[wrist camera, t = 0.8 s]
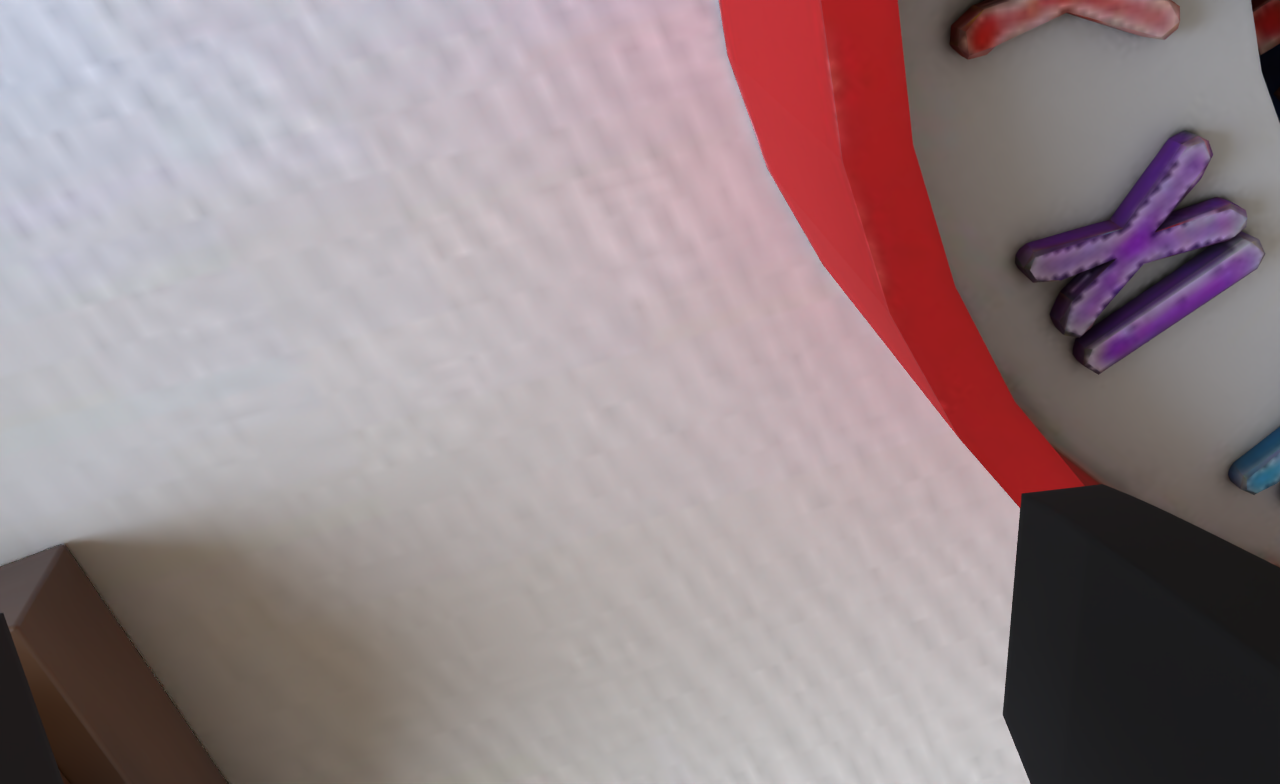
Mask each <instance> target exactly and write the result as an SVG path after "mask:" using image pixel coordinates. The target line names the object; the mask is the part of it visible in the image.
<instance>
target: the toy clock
mask: <svg viewBox="0 0 1280 784" xmlns="http://www.w3.org/2000/svg"><path fill="white" fill-rule="evenodd" d="M719 6H720V12H721V18H722V24H723V30H724V36H725V43H726V49H727V55H728V58H729V61H730V64H731V66H732V69H733V72H734V75H735V78H736V81H737V83H738V86H739V89H740V92H741V95H742V98H743V100H744V103H745V106H746V109H747V112H748V115H749V118H750V120H751V123H752V126H753V129H754V132H755V135H756V137H757V140H758V143H759V146H760V149H761V152H762V154H763V157H764V160H765V163H766V166H767V169H768V171H769V172H770V174H771V176H772V177H773V179H774V181H775V183H776V184H777V186H778V188H779V190H780V191H781V193H782V195H783V197H784V198H785V200H786V202H787V203H788V205H789V207H790V209H791V210H792V212H793V214H794V216H795V217H796V219H797V221H798V222H799V224H800V226H801V228H802V229H803V231H804V233H805V235H806V236H807V238H808V240H809V242H810V243H811V245H812V247H813V248H814V250H815V252H816V254H817V255H818V257H819V259H820V261H821V262H822V264H823V265H824V267H825V268H826V269H827V270H828V272H829V273H830V274H831V275H832V277H833V278H834V279H835V281H836V282H837V283H838V284H839V286H840V287H841V288H842V289H843V291H844V292H845V293H846V295H847V296H848V297H849V298H850V300H851V301H852V302H853V304H854V305H855V306H856V307H857V309H858V310H859V311H860V312H861V314H862V315H863V316H864V318H865V319H866V320H867V321H868V323H869V324H870V325H871V326H872V328H873V329H874V330H875V332H876V333H877V334H878V335H879V337H880V338H881V339H882V340H883V342H884V343H885V344H886V346H887V347H888V348H889V349H890V351H891V352H892V353H893V354H894V356H895V357H896V358H897V360H898V361H899V362H900V363H901V365H902V366H903V367H904V369H905V370H906V371H907V372H908V374H909V375H910V376H911V377H912V379H913V380H914V381H915V383H916V384H917V385H918V386H919V388H920V389H921V390H922V391H923V393H924V394H925V395H926V397H927V398H928V399H929V400H930V402H931V403H932V404H933V405H934V407H935V408H936V409H937V411H938V412H939V413H940V414H941V416H942V417H943V418H944V419H945V421H946V422H947V423H948V425H949V426H950V427H951V428H952V430H953V431H954V432H955V434H956V435H957V436H958V437H959V439H960V440H961V441H962V442H963V443H964V444H965V445H966V447H967V448H968V449H969V450H970V451H971V452H972V454H973V455H974V456H975V457H976V458H977V459H978V460H979V462H980V463H981V464H982V465H983V466H984V467H985V468H986V470H987V471H988V472H989V473H990V474H991V475H992V476H993V478H994V479H995V480H996V481H997V482H998V483H999V484H1000V486H1001V487H1002V488H1003V489H1004V490H1005V491H1006V493H1007V494H1008V495H1009V496H1010V497H1011V498H1012V499H1013V501H1014V502H1015V503H1016V504H1017V505H1018V506H1019V507H1021V495H1022V493H1030V492H1039V491H1047V490H1056V489H1064V488H1073V487H1081V486H1090V485H1098V484H1103V485H1106V486H1109V487H1111V488H1114V489H1116V490H1119V491H1121V492H1124V493H1126V494H1129V495H1131V496H1133V497H1136V498H1138V499H1140V500H1143V501H1145V502H1147V503H1149V504H1151V505H1154V506H1156V507H1158V508H1160V509H1162V510H1164V511H1166V512H1169V513H1171V514H1173V515H1175V516H1177V517H1179V518H1181V519H1183V520H1185V521H1187V522H1189V523H1191V524H1193V525H1195V526H1197V527H1200V528H1202V529H1204V530H1206V531H1208V532H1210V533H1212V534H1214V535H1216V536H1218V537H1220V538H1222V539H1224V540H1226V541H1228V542H1230V543H1232V544H1234V545H1236V546H1238V547H1240V548H1242V549H1244V550H1246V551H1248V552H1250V553H1252V554H1254V555H1256V556H1258V557H1260V558H1262V559H1264V560H1266V561H1268V562H1270V563H1272V564H1274V565H1276V566H1278V567H1280V0H719Z"/></svg>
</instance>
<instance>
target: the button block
mask: <svg viewBox="0 0 1280 784" xmlns="http://www.w3.org/2000/svg"><path fill="white" fill-rule="evenodd" d="M0 613H4V616H5V619H6V622H7V625H8V628H9V630H10V633H11V636H12V639H13V642H14V644H15V647H16V650H17V653H18V656H19V659H20V661H21V664H22V667H23V670H24V673H25V676H26V678H27V681H28V684H29V687H30V690H31V693H32V695H33V698H34V701H35V704H36V707H37V709H38V712H39V715H40V718H41V721H42V724H43V726H44V729H45V732H46V735H47V738H48V741H49V743H50V746H51V749H52V752H53V755H54V758H55V760H56V763H57V766H58V769H59V772H60V775H61V777H62V780H63V783H64V784H228V783H227V782H226V781H225V779H224V778H223V776H222V775H221V773H220V772H219V770H218V769H217V767H216V766H215V764H214V763H213V761H212V760H211V759H210V757H209V756H208V754H207V753H206V751H205V750H204V748H203V747H202V745H201V744H200V742H199V741H198V739H197V738H196V736H195V735H194V734H193V732H192V731H191V729H190V728H189V726H188V725H187V723H186V722H185V720H184V719H183V717H182V716H181V714H180V713H179V712H178V710H177V709H176V707H175V706H174V704H173V703H172V701H171V700H170V698H169V697H168V695H167V694H166V692H165V691H164V690H163V688H162V687H161V685H160V684H159V682H158V681H157V679H156V678H155V676H154V675H153V673H152V672H151V670H150V669H149V668H148V666H147V665H146V663H145V662H144V660H143V659H142V657H141V656H140V654H139V653H138V651H137V650H136V648H135V647H134V646H133V644H132V643H131V641H130V640H129V638H128V637H127V635H126V634H125V632H124V631H123V629H122V628H121V626H120V625H119V624H118V622H117V621H116V619H115V618H114V616H113V615H112V613H111V612H110V610H109V609H108V607H107V606H106V604H105V603H104V602H103V600H102V599H101V597H100V596H99V594H98V593H97V591H96V590H95V588H94V587H93V585H92V584H91V582H90V581H89V580H88V578H87V577H86V575H85V574H84V572H83V571H82V569H81V568H80V566H79V565H78V563H77V562H76V560H75V559H74V558H73V556H72V555H71V553H70V552H69V550H68V549H67V547H66V546H65V545H58V546H56V547H53V548H50V549H48V550H45V551H42V552H39V553H37V554H34V555H31V556H28V557H26V558H23V559H20V560H18V561H15V562H12V563H9V564H7V565H4V566H1V567H0Z"/></svg>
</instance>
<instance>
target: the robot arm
mask: <svg viewBox="0 0 1280 784" xmlns="http://www.w3.org/2000/svg"><path fill="white" fill-rule="evenodd" d="M1003 716H1004V719H1005V721H1006V724H1007V726H1008V729H1009V731H1010V734H1011V736H1012V739H1013V741H1014V743H1015V746H1016V748H1017V751H1018V753H1019V756H1020V758H1021V761H1022V763H1023V766H1024V768H1025V771H1026V773H1027V776H1028V778H1029V781H1030V783H1031V784H1280V567H1278V566H1276V565H1274V564H1272V563H1270V562H1268V561H1266V560H1264V559H1262V558H1260V557H1258V556H1256V555H1254V554H1252V553H1250V552H1248V551H1246V550H1244V549H1242V548H1240V547H1238V546H1236V545H1234V544H1232V543H1230V542H1228V541H1226V540H1224V539H1222V538H1220V537H1218V536H1216V535H1214V534H1212V533H1210V532H1208V531H1206V530H1204V529H1202V528H1200V527H1197V526H1195V525H1193V524H1191V523H1189V522H1187V521H1185V520H1183V519H1181V518H1179V517H1177V516H1175V515H1173V514H1171V513H1169V512H1166V511H1164V510H1162V509H1160V508H1158V507H1156V506H1154V505H1151V504H1149V503H1147V502H1145V501H1143V500H1140V499H1138V498H1136V497H1133V496H1131V495H1129V494H1126V493H1124V492H1121V491H1119V490H1116V489H1114V488H1111V487H1109V486H1106V485H1103V484H1098V485H1090V486H1081V487H1073V488H1064V489H1056V490H1047V491H1039V492H1030V493H1022V495H1021V507H1020V519H1019V530H1018V542H1017V554H1016V566H1015V578H1014V589H1013V601H1012V613H1011V625H1010V637H1009V648H1008V660H1007V672H1006V684H1005V696H1004V707H1003ZM0 784H64V783H63V780H62V777H61V775H60V772H59V769H58V766H57V763H56V760H55V758H54V755H53V752H52V749H51V746H50V743H49V741H48V738H47V735H46V732H45V729H44V726H43V724H42V721H41V718H40V715H39V712H38V709H37V707H36V704H35V701H34V698H33V695H32V693H31V690H30V687H29V684H28V681H27V678H26V676H25V673H24V670H23V667H22V664H21V661H20V659H19V656H18V653H17V650H16V647H15V644H14V642H13V639H12V636H11V633H10V630H9V628H8V625H7V622H6V619H5V616H4V613H0Z"/></svg>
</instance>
